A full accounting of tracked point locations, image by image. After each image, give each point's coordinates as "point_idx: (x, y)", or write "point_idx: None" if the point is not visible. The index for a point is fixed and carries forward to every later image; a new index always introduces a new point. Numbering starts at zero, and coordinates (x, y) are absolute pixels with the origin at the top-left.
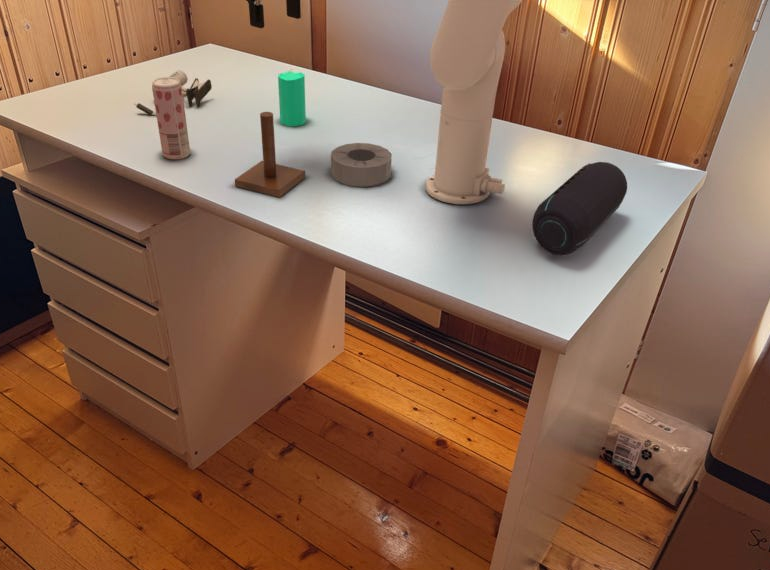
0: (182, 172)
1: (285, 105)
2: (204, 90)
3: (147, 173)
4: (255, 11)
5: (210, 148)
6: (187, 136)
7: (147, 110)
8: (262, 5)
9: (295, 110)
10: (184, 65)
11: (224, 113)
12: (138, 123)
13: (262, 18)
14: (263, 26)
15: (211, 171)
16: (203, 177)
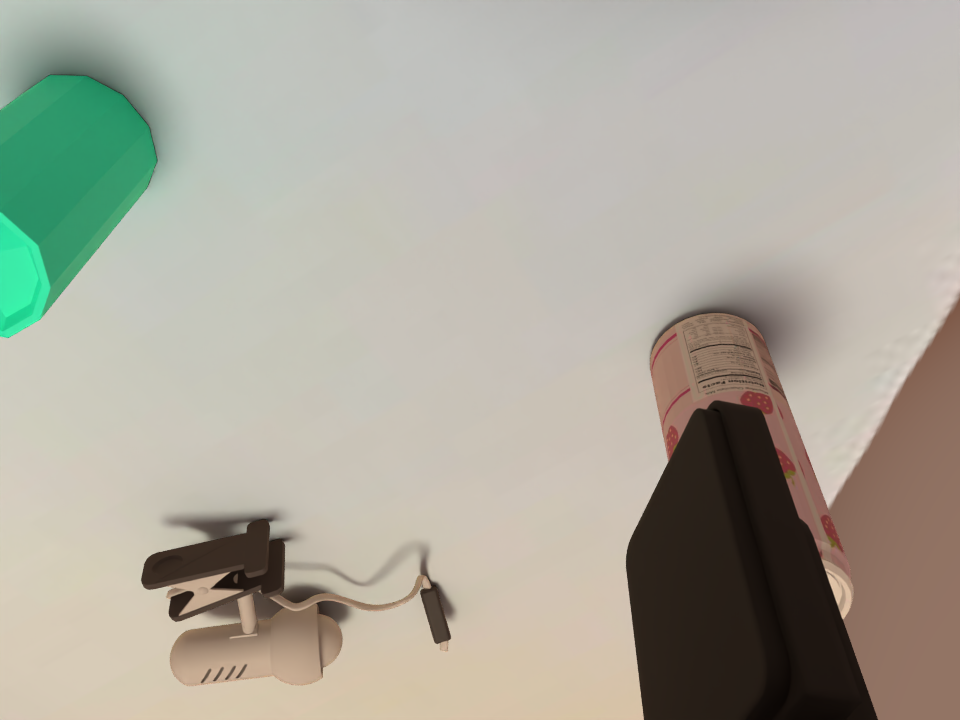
0: (869, 243)
1: (111, 189)
2: (200, 559)
3: (917, 344)
4: (850, 652)
5: (587, 284)
6: (706, 362)
7: (436, 605)
8: (807, 682)
9: (85, 128)
10: (17, 706)
11: (245, 425)
12: (514, 579)
13: (774, 496)
14: (731, 408)
15: (819, 144)
16: (895, 137)
